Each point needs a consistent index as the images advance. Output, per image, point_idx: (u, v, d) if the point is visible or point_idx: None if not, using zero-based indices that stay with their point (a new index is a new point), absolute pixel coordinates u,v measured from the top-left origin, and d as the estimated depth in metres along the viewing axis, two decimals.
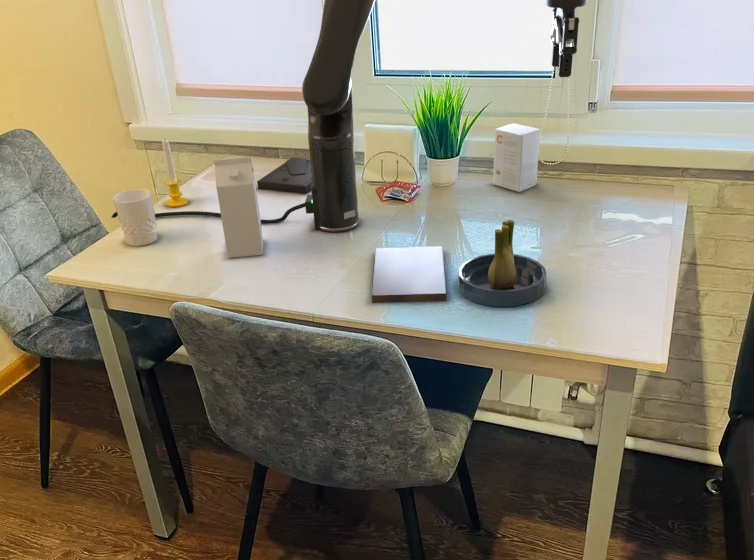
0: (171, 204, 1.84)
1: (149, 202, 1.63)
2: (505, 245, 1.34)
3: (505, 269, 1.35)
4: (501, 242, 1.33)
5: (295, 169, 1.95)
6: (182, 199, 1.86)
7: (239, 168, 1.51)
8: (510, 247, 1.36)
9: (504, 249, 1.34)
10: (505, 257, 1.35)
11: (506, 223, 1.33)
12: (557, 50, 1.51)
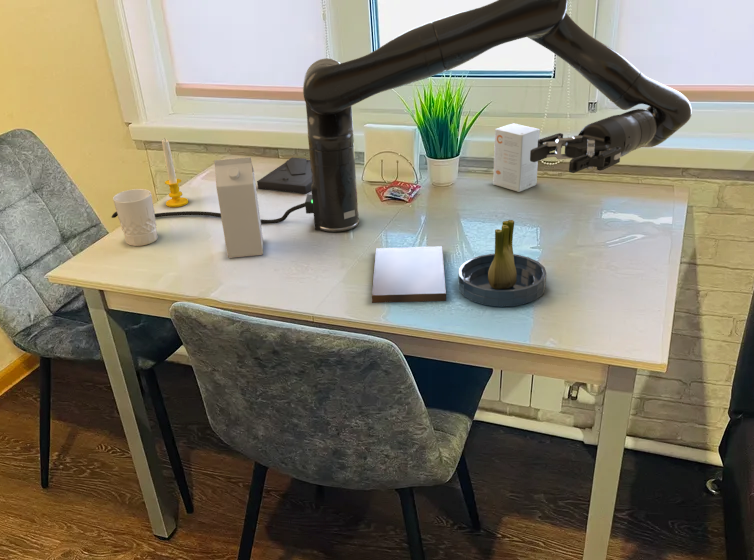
0: (171, 204, 1.84)
1: (149, 202, 1.63)
2: (505, 245, 1.34)
3: (505, 269, 1.35)
4: (501, 242, 1.33)
5: (295, 169, 1.95)
6: (182, 199, 1.86)
7: (239, 168, 1.51)
8: (510, 247, 1.36)
9: (504, 249, 1.34)
10: (505, 257, 1.35)
11: (506, 223, 1.33)
12: (544, 151, 1.38)
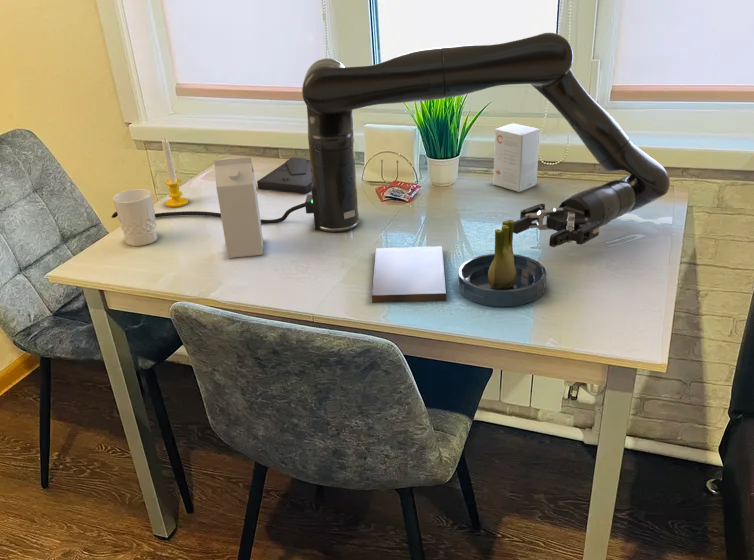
0: (171, 204, 1.84)
1: (149, 202, 1.63)
2: (505, 245, 1.34)
3: (505, 269, 1.35)
4: (501, 242, 1.33)
5: (295, 169, 1.95)
6: (182, 199, 1.86)
7: (239, 168, 1.51)
8: (510, 247, 1.36)
9: (504, 249, 1.34)
10: (505, 257, 1.35)
11: (506, 223, 1.33)
12: (526, 222, 1.44)
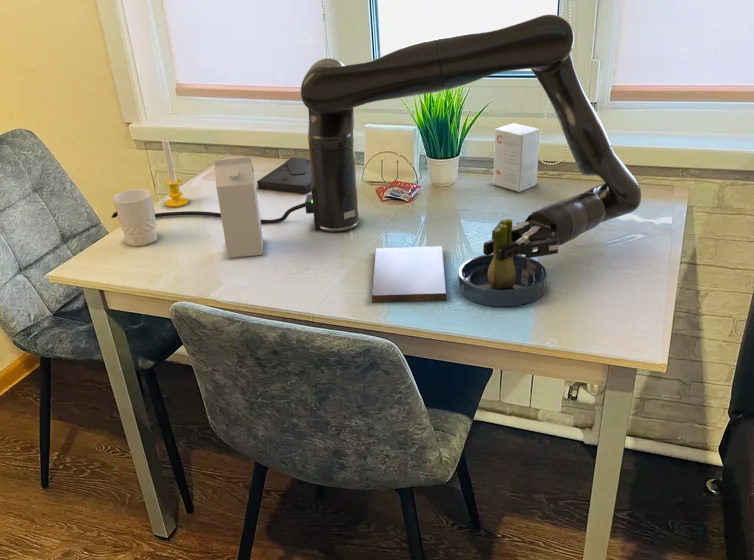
0: (171, 204, 1.84)
1: (149, 202, 1.63)
2: (504, 244, 1.34)
3: (504, 268, 1.35)
4: (499, 241, 1.33)
5: (295, 169, 1.95)
6: (182, 199, 1.86)
7: (239, 168, 1.51)
8: None
9: None
10: None
11: (504, 222, 1.34)
12: None
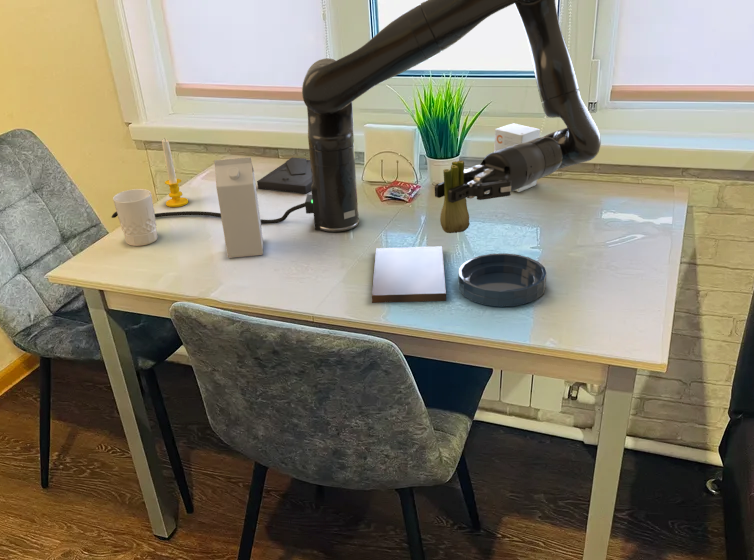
0: (171, 204, 1.84)
1: (149, 202, 1.63)
2: (455, 186, 1.32)
3: (456, 211, 1.33)
4: (450, 182, 1.30)
5: (295, 169, 1.95)
6: (182, 199, 1.86)
7: (239, 168, 1.51)
8: None
9: None
10: None
11: (455, 163, 1.31)
12: None
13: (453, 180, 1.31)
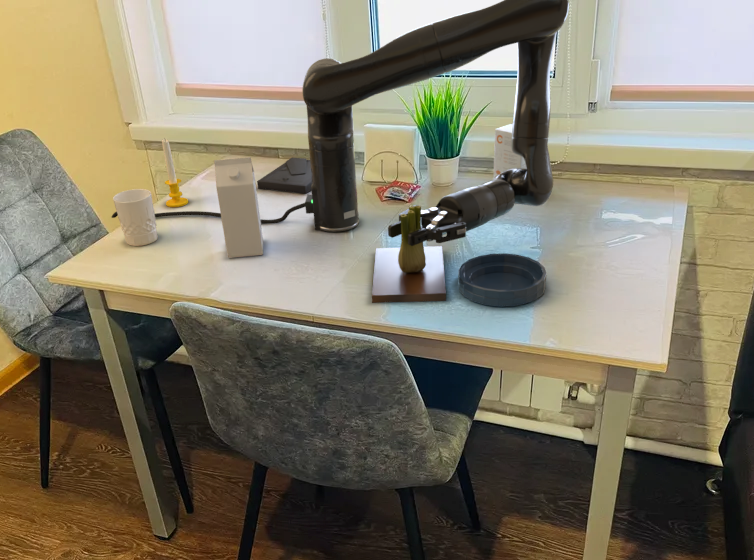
0: (171, 204, 1.84)
1: (149, 202, 1.63)
2: (411, 230, 1.39)
3: (412, 253, 1.40)
4: (406, 226, 1.38)
5: (295, 169, 1.95)
6: (182, 199, 1.86)
7: (239, 168, 1.51)
8: None
9: None
10: None
11: (412, 208, 1.38)
12: None
13: (410, 224, 1.38)
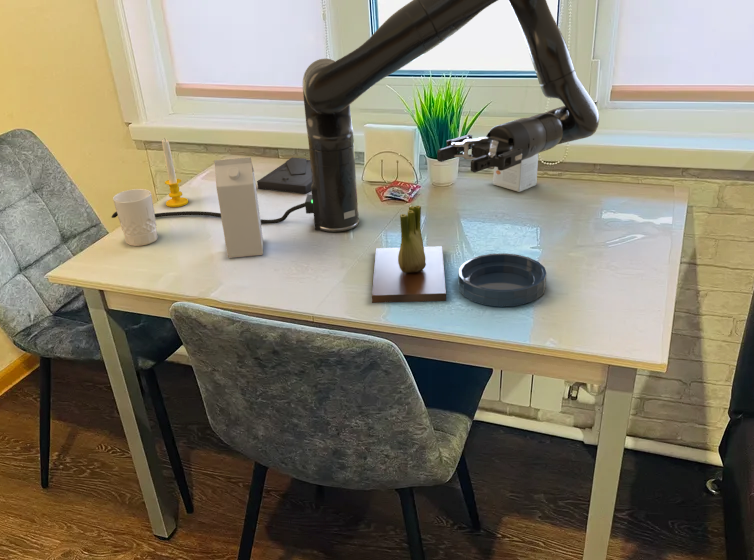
0: (171, 204, 1.84)
1: (149, 202, 1.63)
2: (411, 230, 1.39)
3: (412, 253, 1.40)
4: (406, 226, 1.38)
5: (295, 169, 1.95)
6: (182, 199, 1.86)
7: (239, 168, 1.51)
8: (418, 232, 1.41)
9: (410, 233, 1.39)
10: (412, 241, 1.40)
11: (412, 208, 1.38)
12: (451, 151, 1.44)
13: (409, 224, 1.38)
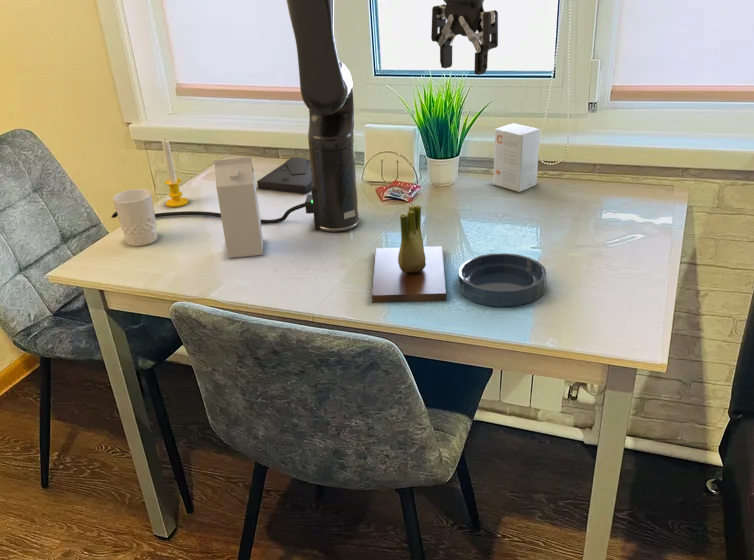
0: (171, 204, 1.84)
1: (149, 202, 1.63)
2: (411, 230, 1.39)
3: (412, 253, 1.40)
4: (406, 226, 1.38)
5: (295, 169, 1.95)
6: (182, 199, 1.86)
7: (239, 168, 1.51)
8: (418, 232, 1.41)
9: (410, 233, 1.39)
10: (412, 241, 1.40)
11: (412, 208, 1.38)
12: (446, 50, 1.43)
13: (409, 224, 1.38)
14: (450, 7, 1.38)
